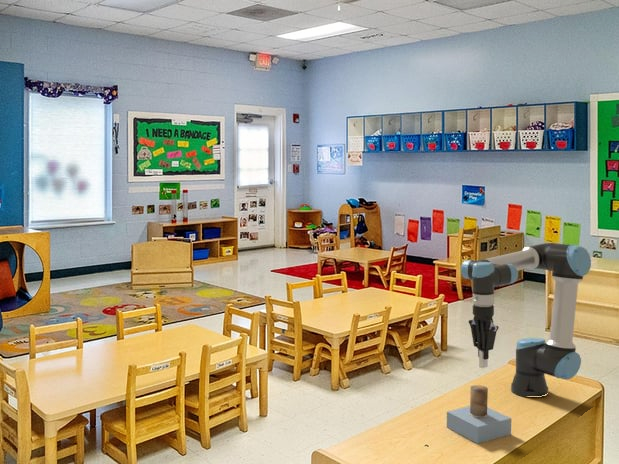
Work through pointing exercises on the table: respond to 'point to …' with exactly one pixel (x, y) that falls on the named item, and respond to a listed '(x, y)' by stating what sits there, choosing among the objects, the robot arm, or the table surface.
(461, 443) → the table surface
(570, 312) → the robot arm
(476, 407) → the peg
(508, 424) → the seat block
